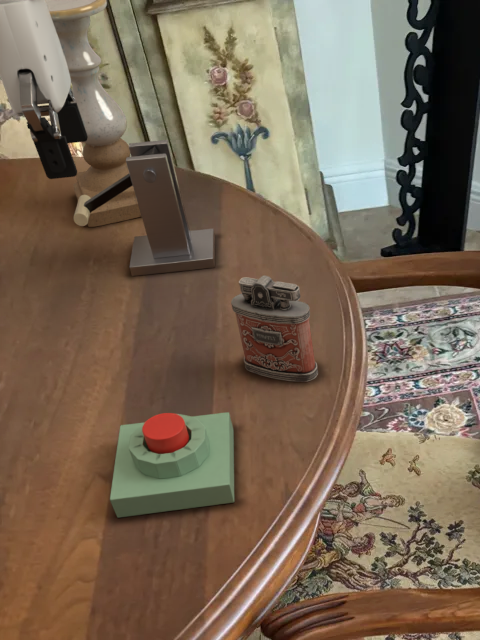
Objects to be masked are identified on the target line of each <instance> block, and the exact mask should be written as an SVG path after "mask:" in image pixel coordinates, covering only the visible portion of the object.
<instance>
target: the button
mask: <svg viewBox="0 0 480 640" xmlns="http://www.w3.org/2000/svg"><path fill="white" fill-rule="evenodd" d="M177 414H178V413H174V412H163V413H158V414H154V415H153V416H151V417H150V418H148V419H147V420H146V421H144V422H145V423H144V422H143V423H144V425H143V428H142V432H143V435H144V438H145V441H146V443H147V446H148V448H149V450H151V451H152V452H153V453H157V454H166V453H173V452H175V451H177V450H179V449H181V448H183V447H185V446H186V445H187V443H188V441H189V435H188V431H187V428H186V425H185V421H184V419H183V418H182V417H181V416H179V415H177Z"/></svg>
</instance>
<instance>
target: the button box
mask: <svg viewBox="0 0 480 640" xmlns="http://www.w3.org/2000/svg"><path fill="white" fill-rule="evenodd" d="M176 414H177V415H179V416H181V417H182V418H183V419H184V421H185V425H186V428H187V431H188V435H189V441H188V443H187V445H186V446H185V447H183V448H181V449H179V450H177V451H175V452H173V453H166V454H157V453H153V452H152V451H151V450H149V448H148V446H147V443H146V441H145V438H144V435H143V432H142V428H143V425H144V423H145V422H146V421H144V422H136V423H128V424H121V425H120V426H119V432H118V438H117V447H116V453H115V459H114V460H115V461H114V466H113V473H112V482H111V489H110V495H109V502H110V504H111V506H112V508H113V512H114V513H115V516H116V518H117V519H118V518H127V517H134V516H141V515H148V514H149V515H150V514H157V513H165V512H172V511H179V510H186V509H195V508H202V507H209V506H211V507H212V506H218V505H224V504H233V503H235V441H234V439H235V437H234V434H235V433H234V426H233V422H232V418H231V414H230V412H229V411H228V412H219V413H211V414H202V415H193V416H192V415H191V416H190V415H186V414H182V413H176Z"/></svg>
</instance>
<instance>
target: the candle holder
mask: <svg viewBox="0 0 480 640" xmlns="http://www.w3.org/2000/svg"><path fill="white" fill-rule="evenodd" d="M45 2H46V4H47V6H48V10H49V13H50V15H51V18H52V21H53V24H54V26H55V29H56V32H57V35H58V38H59V41H60V44H61V47H62V50H63V53H64V56H65V59H66V63H67V66H68V70H69V74H70V78H71V87H72V88H71V89H72V91H73V94H74V97H75V102H71V103H77V105H78V108H79V111H80V114H81V118H82V121H83V124H84V127H85V130H86V133H87V136H88V138H87V141H85V142H82V144H84V146H83V147H82V148H83V149H82V157H83V160H84V161H85V162H86V163H87V164H88V165H89V167H88V168H87V169H86V170H84V171H81V172H77V175H76V176H75V178H76V182H74V183H73V184H72V186H73V190H74V191H73V192H74V194H75V197H76V200H77V201H78V200H79V197H80V196H81V195H87V196H89V197H90V198H92V197H94V196H95V195H97V194H98V193H100V192H101V191H103V190H104V189H106V188H107V187H109V186H110V185H112V184H114V183H115V182H117V181H118V180H120V179H121V178H123V177H124V176H126V175H127V174H129V170H128V167H127V163H126V157H131V154H130V150H129V143H127V142H126V140H124V139H123V138H122V137H123V136H124V135H125V133H126V131H127V127H128V121H127V116H126V114H125V112H124V110H123V109H122V108H121V106H120V105H119V104H118V103H117V101H116V100H115V99H114V98H112V96H111V95H110V94H109V93H108V92H107V91H106V89H105V88H104V87H103V85H102V84H101V81H100V78H99V73H100V65H101V64H102V58H101V57H100V55H99V54H97V53H96V52H95V51H94V49H93V48H92V46H91V45H90V42H89V39H88V38H89V37H88V31H89V28H90V26H91V16H95V15H96V14H99V13H101V12H103V11H104V10H105V9H106V7H107V4H108V0H45ZM137 218H142V216H141V212H140V209H139V205H138V202H137V198H136V195H135V191H134V188H133V186H131V187H129V188H128V189H126V190H125V191H123V192H122V193H120V194H119V195H117V196H116V197H114V198H112V199H111V200H109V201H108V202H106V203H105V204H103V205H102V206H100V207H99V208H97V209H95V210H94V211H92V212H91V213H90V216H89V219H88V223H87V225H86V226H87V227H89V228H95V227H100V226H104V225H109V224H114V223H119V222H123V221H128V220H133V219H137Z"/></svg>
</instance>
